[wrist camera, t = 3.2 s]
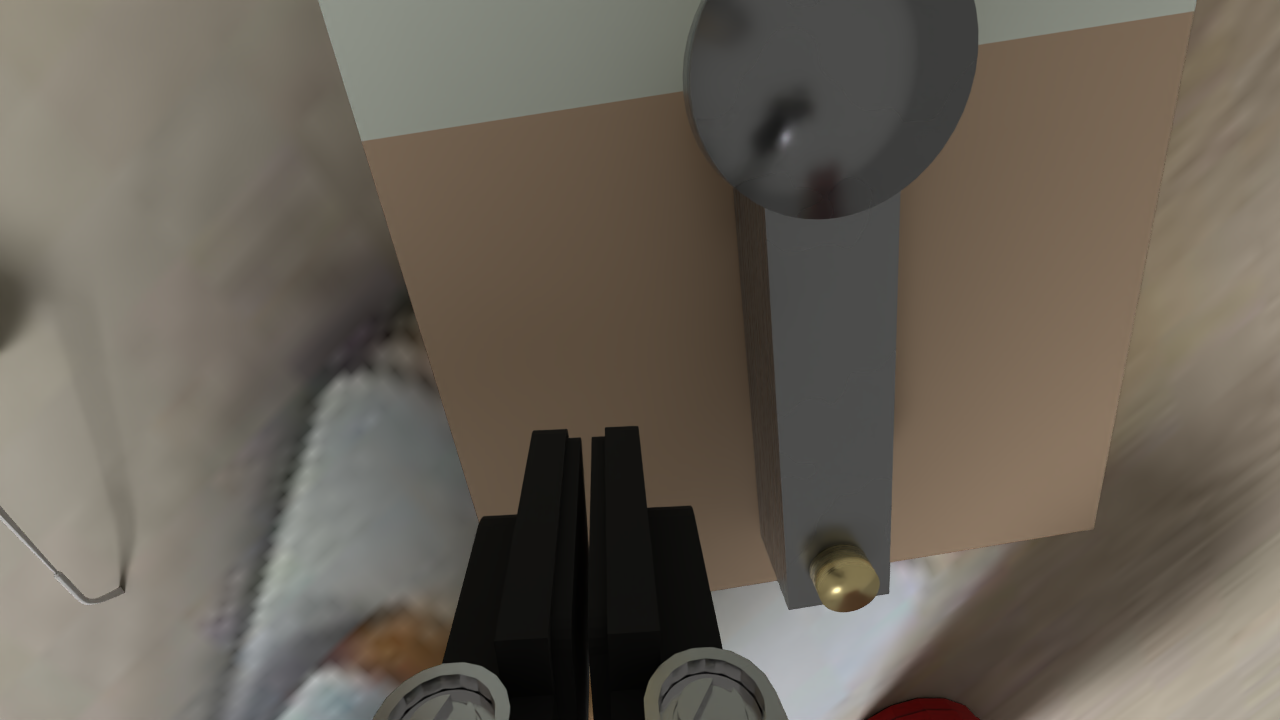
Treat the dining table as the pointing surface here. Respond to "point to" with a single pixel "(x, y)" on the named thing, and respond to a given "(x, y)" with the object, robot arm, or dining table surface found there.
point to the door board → (709, 263)
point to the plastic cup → (926, 710)
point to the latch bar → (824, 249)
